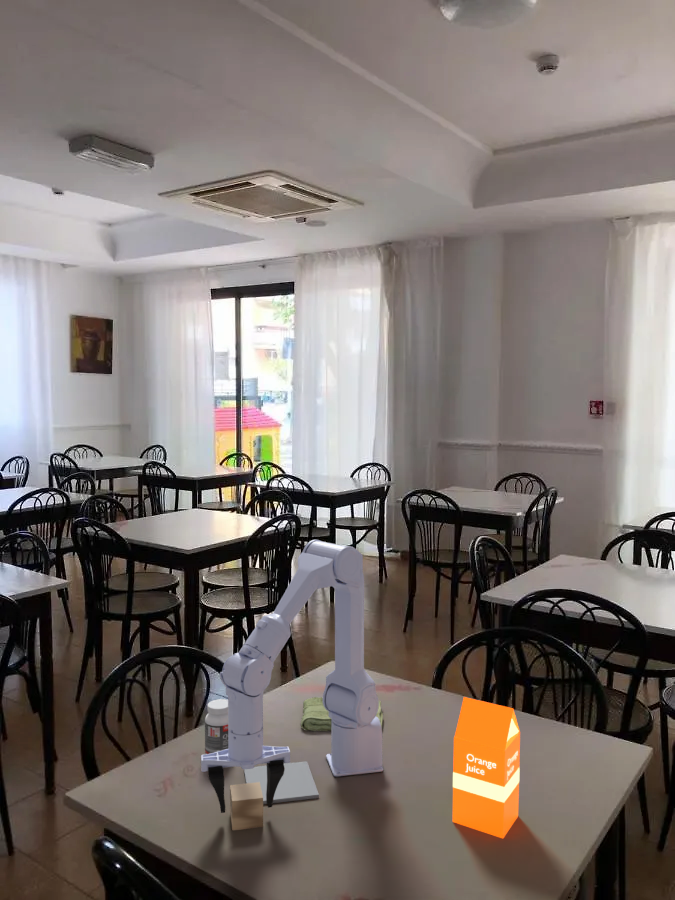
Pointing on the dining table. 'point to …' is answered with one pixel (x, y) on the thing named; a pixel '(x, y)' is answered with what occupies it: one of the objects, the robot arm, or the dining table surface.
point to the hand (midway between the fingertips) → (246, 806)
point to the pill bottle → (216, 726)
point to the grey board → (286, 782)
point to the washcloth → (321, 715)
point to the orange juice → (486, 767)
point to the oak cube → (246, 806)
